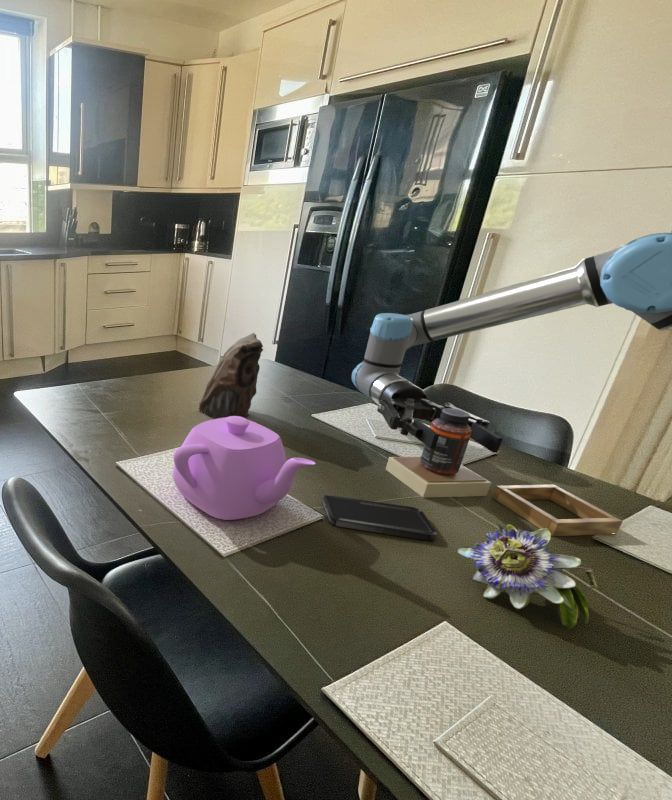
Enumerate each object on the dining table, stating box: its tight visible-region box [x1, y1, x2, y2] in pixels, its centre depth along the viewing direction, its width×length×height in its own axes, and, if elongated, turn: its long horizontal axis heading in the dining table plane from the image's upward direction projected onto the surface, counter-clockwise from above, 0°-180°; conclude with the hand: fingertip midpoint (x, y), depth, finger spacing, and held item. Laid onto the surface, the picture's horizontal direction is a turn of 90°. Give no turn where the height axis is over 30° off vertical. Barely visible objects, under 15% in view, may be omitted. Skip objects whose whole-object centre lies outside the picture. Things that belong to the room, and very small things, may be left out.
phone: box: [321, 494, 438, 542], centre depth 79 cm, size 8×1×15 cm
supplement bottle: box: [420, 408, 472, 475], centre depth 88 cm, size 6×6×11 cm
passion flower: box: [456, 522, 598, 629], centre depth 63 cm, size 11×11×12 cm
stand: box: [385, 456, 492, 499], centre depth 90 cm, size 12×10×3 cm
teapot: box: [172, 416, 316, 521], centre depth 79 cm, size 23×21×15 cm
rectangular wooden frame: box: [491, 483, 623, 537], centre depth 81 cm, size 11×11×2 cm
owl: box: [198, 332, 264, 419], centre depth 115 cm, size 13×13×20 cm
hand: (466, 443), depth 83 cm, fingers open, 9 cm apart
